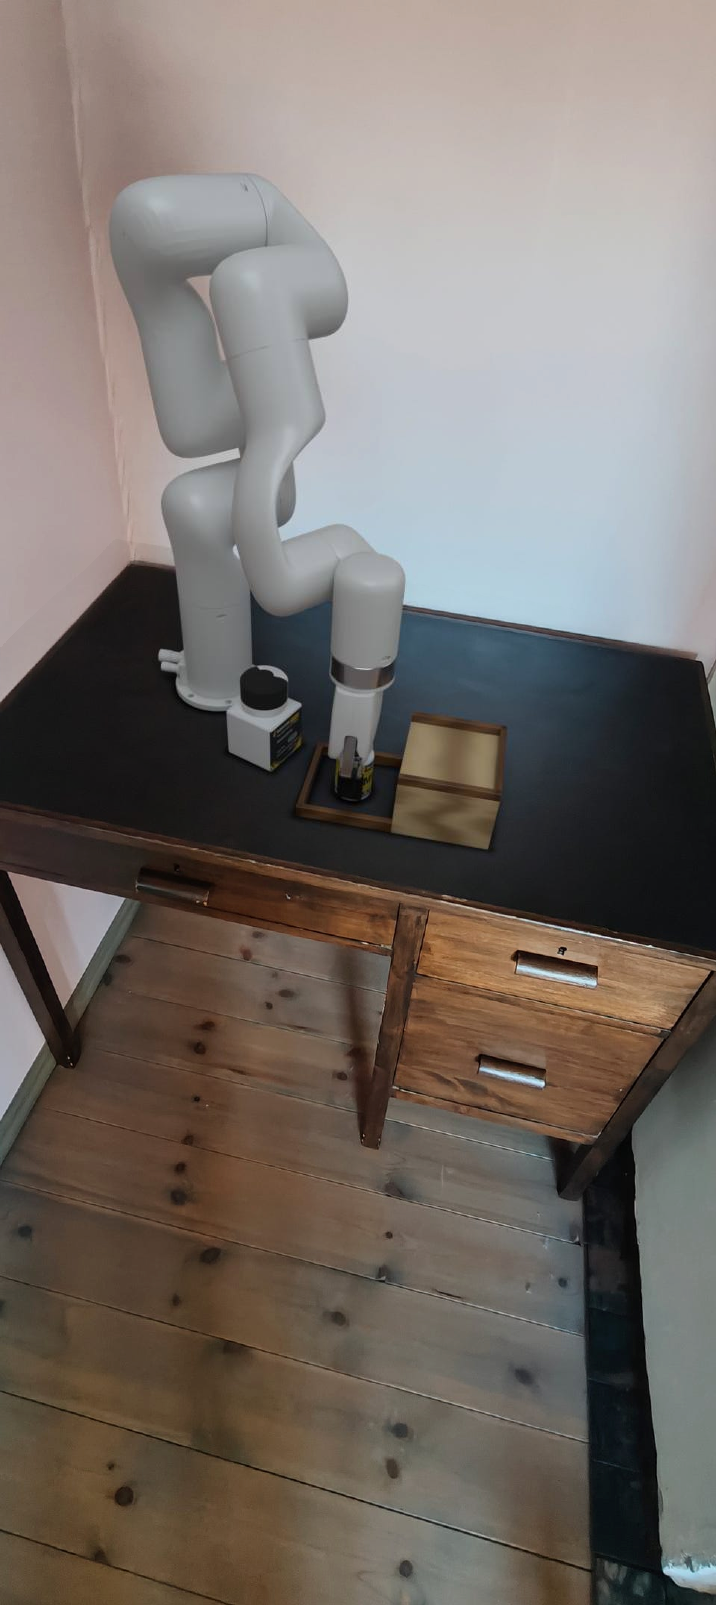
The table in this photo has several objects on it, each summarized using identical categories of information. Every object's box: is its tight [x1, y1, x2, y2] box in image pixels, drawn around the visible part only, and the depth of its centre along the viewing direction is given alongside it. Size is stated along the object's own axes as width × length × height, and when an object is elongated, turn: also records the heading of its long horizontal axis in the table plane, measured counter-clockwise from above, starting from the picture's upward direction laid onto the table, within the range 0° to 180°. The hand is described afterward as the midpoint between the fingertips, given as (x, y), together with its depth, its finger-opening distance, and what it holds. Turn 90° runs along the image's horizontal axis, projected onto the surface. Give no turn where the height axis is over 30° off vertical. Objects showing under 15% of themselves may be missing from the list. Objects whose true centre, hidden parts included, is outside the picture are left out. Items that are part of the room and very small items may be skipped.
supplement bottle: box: [334, 743, 375, 802], centre depth 104 cm, size 5×5×8 cm
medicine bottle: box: [226, 664, 303, 772], centre depth 108 cm, size 7×7×12 cm
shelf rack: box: [295, 710, 508, 850], centre depth 103 cm, size 24×13×9 cm, turn 79°
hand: (353, 781), depth 106 cm, fingers closed on supplement bottle, 4 cm apart
